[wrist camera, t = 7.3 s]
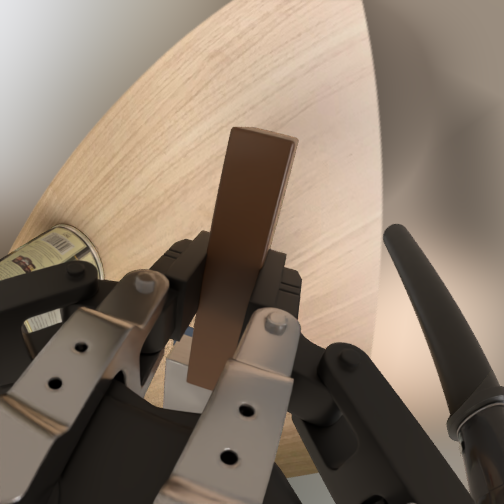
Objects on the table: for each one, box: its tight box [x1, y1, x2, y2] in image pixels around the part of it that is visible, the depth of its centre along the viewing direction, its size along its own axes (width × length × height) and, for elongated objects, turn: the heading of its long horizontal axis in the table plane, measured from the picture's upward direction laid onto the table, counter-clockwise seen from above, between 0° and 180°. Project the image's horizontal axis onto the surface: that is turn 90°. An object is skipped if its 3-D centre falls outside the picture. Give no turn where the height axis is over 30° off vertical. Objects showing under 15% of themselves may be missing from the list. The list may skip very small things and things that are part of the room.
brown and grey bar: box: [163, 127, 299, 413], centre depth 13 cm, size 18×4×3 cm, turn 169°
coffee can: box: [0, 224, 104, 334], centre depth 28 cm, size 10×10×14 cm
